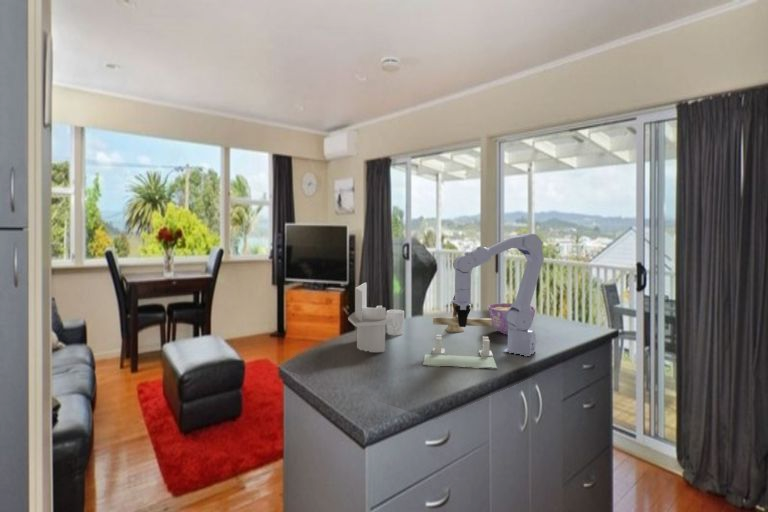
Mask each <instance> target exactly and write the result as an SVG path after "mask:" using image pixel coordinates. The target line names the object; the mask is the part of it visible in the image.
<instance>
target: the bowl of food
mask: <svg viewBox="0 0 768 512" xmlns="http://www.w3.org/2000/svg"><path fill="white" fill-rule="evenodd" d="M511 304H512V303H509V302H508V303H505V302H504V303H501V302H500V303H492V304H490V305H488V307H487V308H488V312H489V316H490V318H491V319H492V327H494V329H495V330H497V331H498V332H500V333H501V334H502V333H503V335H505V334H506V336H508V322H507V321H506V317H505V316H506V313H507V311H508V310H509V309H510V307H511ZM530 307H531V310H532V314H531V319H532V323H531V326H530V327H529V328H528V329H529V330H530V328H531V327H532V324H533V321H534V317H535V314H536V310H537V309H536V307H535V306H531V305H530Z"/></svg>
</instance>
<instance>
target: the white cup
mask: <svg viewBox="0 0 768 512" xmlns="http://www.w3.org/2000/svg"><path fill="white" fill-rule="evenodd" d="M386 315H387V316H388V317H390V318H391V319H393V324H386V328H387V329H386V331H387V335H389V336H395V337H396V336H401V335H403V333H404V323H405V322H404V321H405V311H404V310H403V309H388V310H387V309H386Z"/></svg>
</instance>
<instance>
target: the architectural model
mask: <svg viewBox="0 0 768 512" xmlns="http://www.w3.org/2000/svg"><path fill="white" fill-rule="evenodd" d="M367 287H368V285H367V282H364V283H362V284H360V285H358V286H356V287H354V288H355V290H354V292H355V294H354V295H355V298H354V299H355V302H354V304H355V305H354V306H355V311H354V312H352V313H351V314H349V315H348V317H347V319H348V321H349V322H350V323H351V324H352V325H353V326H354V327H356V349H358V350H360V351H362V350H364V351H363V352H367V351H369V352H368V353H386V325H387V324H393V319H391V318H390V317H388V316H387V315H386V311H387V309H386V307H383V305H376V307H367V302H368V301H367V292H368V291H367V289H368V288H367Z"/></svg>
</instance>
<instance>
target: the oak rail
mask: <svg viewBox="0 0 768 512" xmlns="http://www.w3.org/2000/svg"><path fill="white" fill-rule="evenodd" d="M432 320H433V321H432V325H438V326H439V325H440V326H448V325H459V321H458V316H457V317H453V316H433V317H432ZM466 326H469V327H491V328H492V327H493V324H492V319H491V317H490V318H489V317H488V318H487V317H483V318H481V317H467V323H466Z"/></svg>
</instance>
